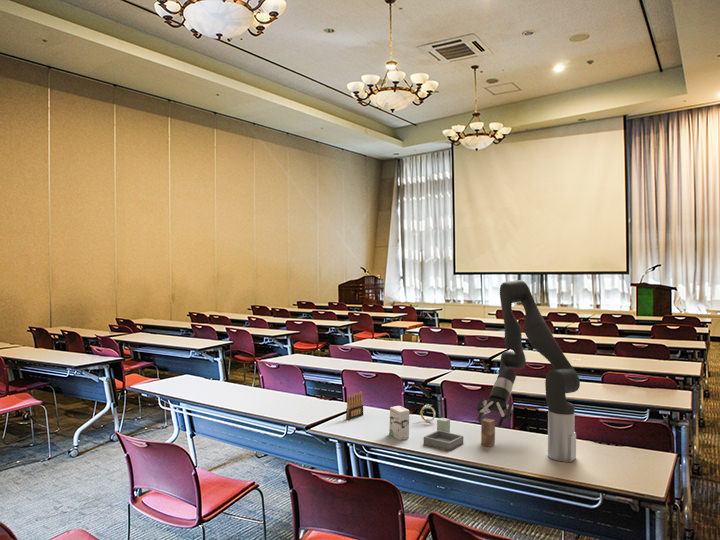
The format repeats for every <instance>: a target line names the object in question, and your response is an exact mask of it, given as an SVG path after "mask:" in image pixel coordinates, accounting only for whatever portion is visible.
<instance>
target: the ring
mask: <svg viewBox="0 0 720 540" xmlns="http://www.w3.org/2000/svg"><path fill="white" fill-rule="evenodd" d="M425 409H430V410H431V411H432V412H433V417H432V418H431V419H428V418H427V419H426V418H425V416H424V414H423V412H424V410H425ZM419 414H420V417H421V419H422V420H423V421H425V422H426V423H431V422H433V421H434V419H436V414H437V413H436V410H435V408H434V407H432V405H431V404H429V403H427V404H423V406H422V408H421V410H420V413H419Z"/></svg>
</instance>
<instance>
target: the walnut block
mask: <svg viewBox="0 0 720 540" xmlns="http://www.w3.org/2000/svg"><path fill="white" fill-rule="evenodd" d="M480 424H481V426H480V427H481V429H480V430H481V431H480V435H481V436H480V445H481V446H484V447H488V448H491V447H492V448H493V447H494V446H496V419H493V418H488V417H485V418H483V420H481V423H480Z"/></svg>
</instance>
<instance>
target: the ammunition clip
mask: <svg viewBox="0 0 720 540" xmlns="http://www.w3.org/2000/svg"><path fill="white" fill-rule="evenodd" d="M363 402H364V401H363V392H362V390H360V391H358V392H357V391H356V392H353V393H352V392H350V393H348V395H347V402H346V406H347V407H346V410H345V411H346V413H345V420H346V421H351V420H354V419H357V418H361V417H362V416H364V404H363Z"/></svg>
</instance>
